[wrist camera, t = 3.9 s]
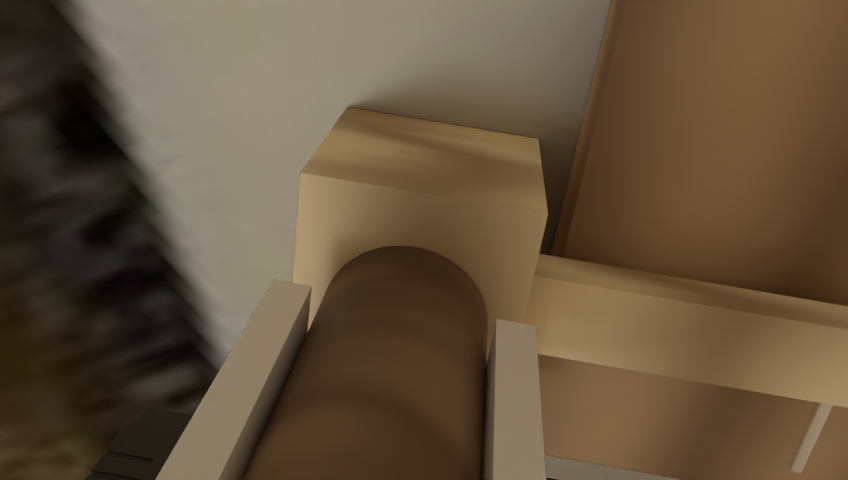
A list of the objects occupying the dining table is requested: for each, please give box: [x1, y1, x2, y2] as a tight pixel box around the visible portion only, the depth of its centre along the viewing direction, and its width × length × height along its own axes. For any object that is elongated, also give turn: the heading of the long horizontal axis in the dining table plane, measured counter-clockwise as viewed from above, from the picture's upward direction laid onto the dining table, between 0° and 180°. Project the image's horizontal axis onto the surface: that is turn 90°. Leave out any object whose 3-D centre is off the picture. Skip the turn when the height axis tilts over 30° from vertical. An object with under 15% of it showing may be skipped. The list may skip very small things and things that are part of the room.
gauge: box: [242, 107, 848, 480], centre depth 14 cm, size 15×6×16 cm, turn 82°
